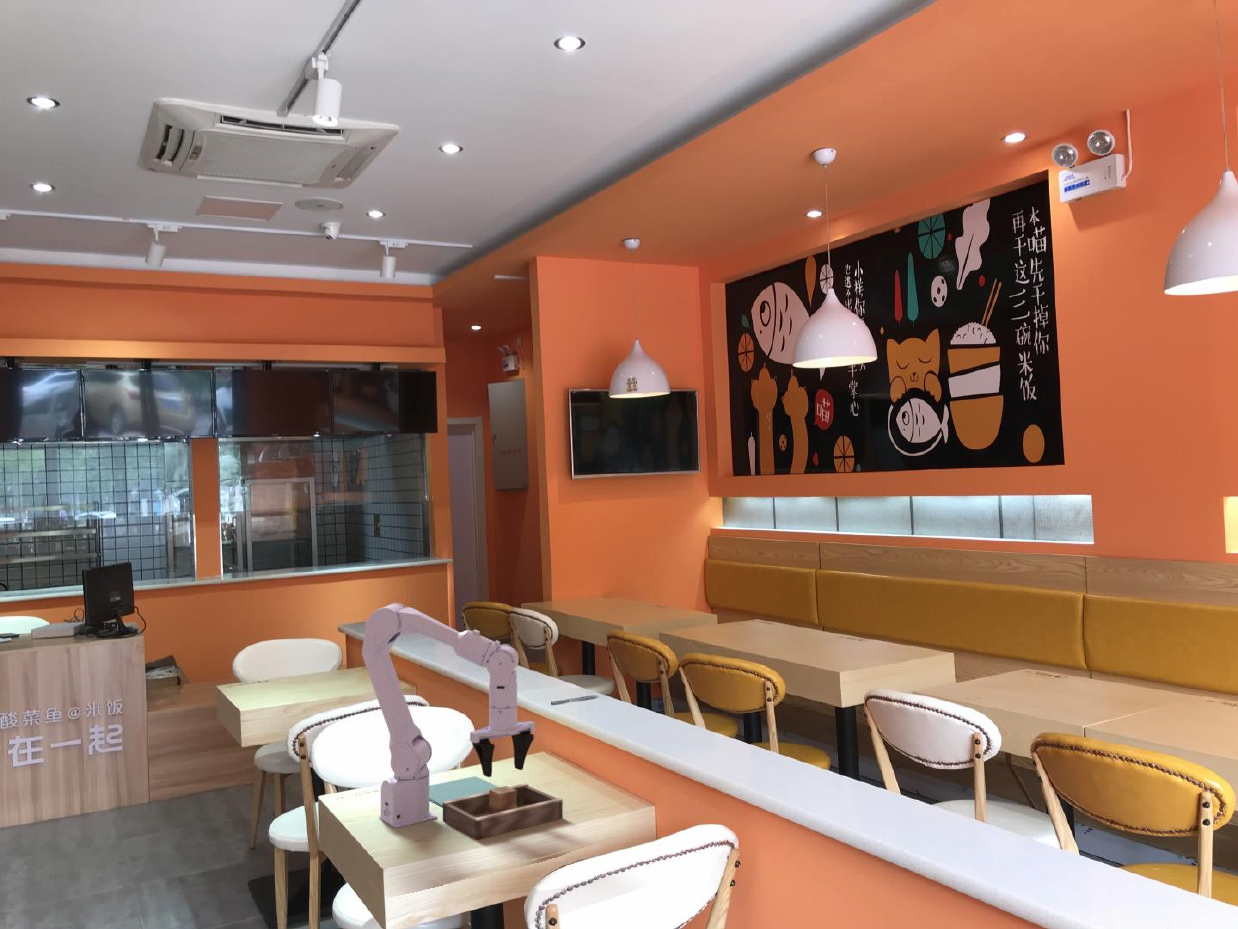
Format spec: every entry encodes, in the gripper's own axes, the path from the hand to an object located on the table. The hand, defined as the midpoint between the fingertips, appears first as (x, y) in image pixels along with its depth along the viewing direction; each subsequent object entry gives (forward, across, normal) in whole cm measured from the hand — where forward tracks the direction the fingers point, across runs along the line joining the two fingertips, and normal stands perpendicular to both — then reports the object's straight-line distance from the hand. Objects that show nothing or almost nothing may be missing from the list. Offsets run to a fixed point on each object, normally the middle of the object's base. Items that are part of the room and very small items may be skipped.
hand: (503, 772), depth 199 cm
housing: (+9, 0, 0) cm, 9 cm away
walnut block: (+10, 0, 0) cm, 10 cm away
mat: (+9, +2, +21) cm, 23 cm away
